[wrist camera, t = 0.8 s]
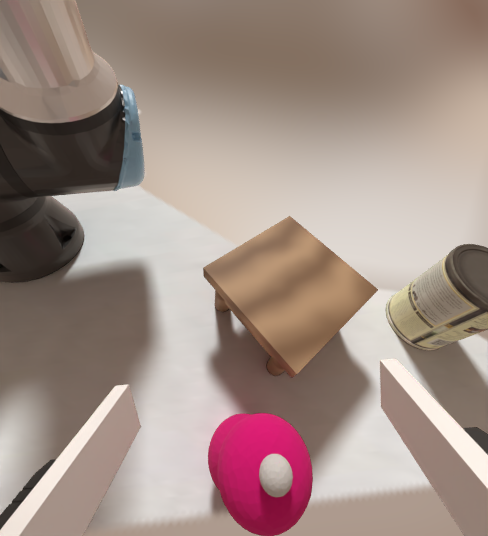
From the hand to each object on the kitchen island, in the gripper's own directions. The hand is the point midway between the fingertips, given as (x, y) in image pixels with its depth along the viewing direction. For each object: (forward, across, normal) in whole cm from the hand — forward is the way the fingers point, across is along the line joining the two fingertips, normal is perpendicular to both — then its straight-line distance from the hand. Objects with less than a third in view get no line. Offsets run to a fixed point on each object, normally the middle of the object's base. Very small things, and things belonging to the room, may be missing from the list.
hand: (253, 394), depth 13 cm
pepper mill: (+12, -4, -18) cm, 22 cm away
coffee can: (+29, +26, -12) cm, 41 cm away
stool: (+26, +2, -7) cm, 27 cm away
